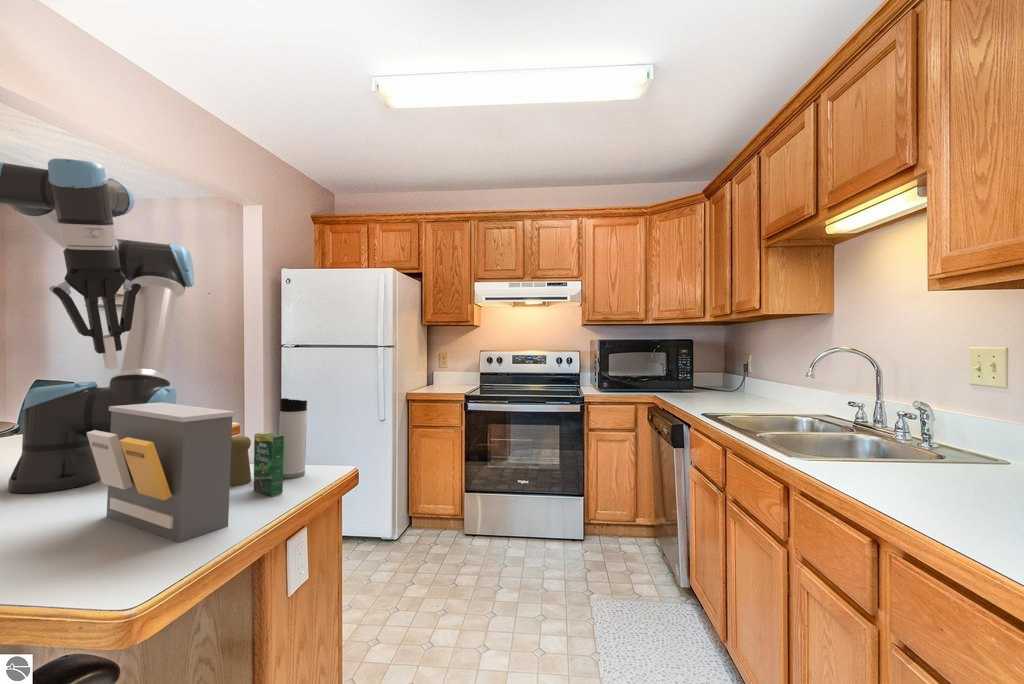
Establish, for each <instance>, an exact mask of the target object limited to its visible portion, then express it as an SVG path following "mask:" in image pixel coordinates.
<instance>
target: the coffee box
mask: <svg viewBox="0 0 1024 684" xmlns="http://www.w3.org/2000/svg"><path fill="white" fill-rule="evenodd" d="M253 436H254V439H253V440H254V441H253V442H254V443H253V444H254V445H253V449H254V450H253V451H254V452H253V491H256V492H259V493H262V494H265V495H266V496H271V497H275V496H279V495H281V494H283V491H284V489H283V486H284V485H283V484H284V483H283V481H284V479H283V453H284V435H279V433H278V434H276V433H271V432H267V431H265V432H258V433H254V435H253Z"/></svg>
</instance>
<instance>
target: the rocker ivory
mask: <svg viewBox="0 0 1024 684" xmlns="http://www.w3.org/2000/svg"><path fill="white" fill-rule="evenodd" d="M87 437H88V440H89V443H90V446H91V449H92V452H93V456H94V459H95V462H96V465H97V468H98V471H99V475H100V478H101V479H100V481H101V484H104V485H107V486H108V485H110V486H114V487H117V488H120V489H124V490H125V489H128V488H130V487H132V482H131V479H130V476H129V472H128V469H127V466H126V462H125V459H124V456H123V452H122V449H121V446H120V442H119V439H118V436H117V434H113V433H108V432H102V431H97V430H93V431H90V432H87Z"/></svg>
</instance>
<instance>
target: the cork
mask: <svg viewBox="0 0 1024 684" xmlns="http://www.w3.org/2000/svg"><path fill="white" fill-rule="evenodd" d="M251 445H252V441H251V438H250V437H248V436H245V435H237V436H232V441H231V466H230V487H237V486H243V485H247V484H250V483H251V482H252V475H251V474H252V473H251V465H250V456H249V455H250V454H249V449H250V448H251Z"/></svg>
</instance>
